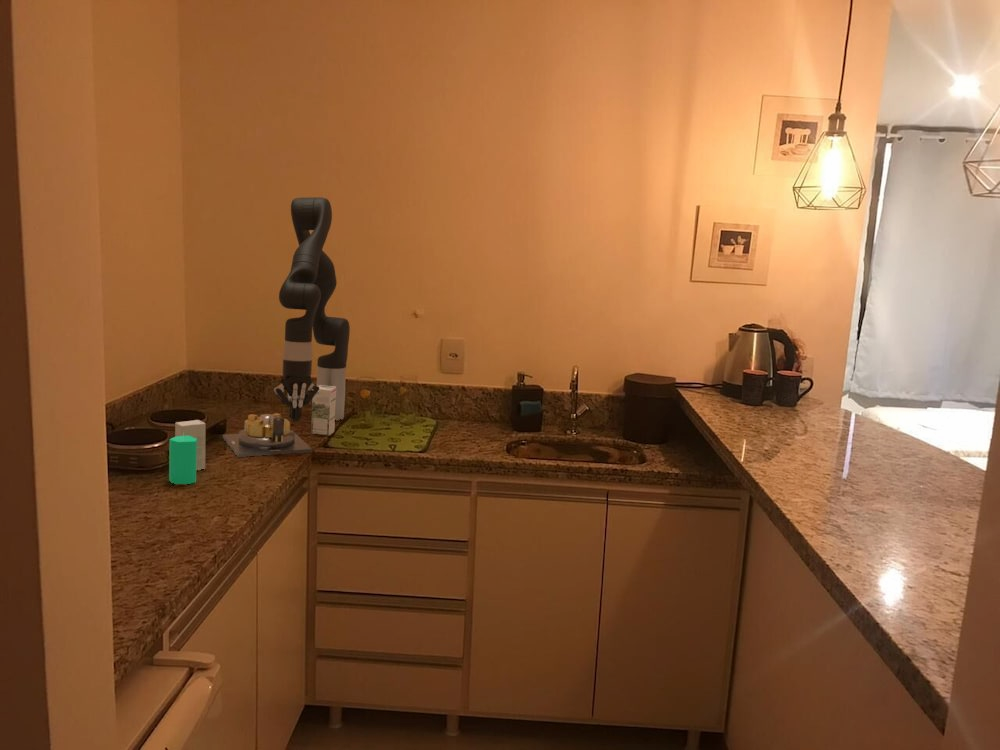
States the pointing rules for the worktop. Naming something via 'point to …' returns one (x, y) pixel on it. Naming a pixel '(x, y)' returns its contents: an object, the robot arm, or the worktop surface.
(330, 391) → the syrup box
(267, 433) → the gold notched piece
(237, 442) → the bearing housing
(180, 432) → the skincare box
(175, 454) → the candle
